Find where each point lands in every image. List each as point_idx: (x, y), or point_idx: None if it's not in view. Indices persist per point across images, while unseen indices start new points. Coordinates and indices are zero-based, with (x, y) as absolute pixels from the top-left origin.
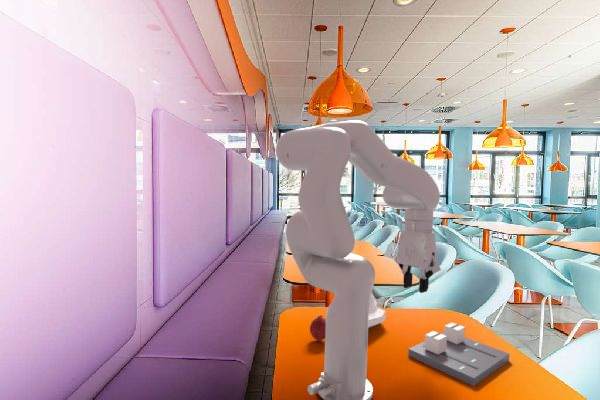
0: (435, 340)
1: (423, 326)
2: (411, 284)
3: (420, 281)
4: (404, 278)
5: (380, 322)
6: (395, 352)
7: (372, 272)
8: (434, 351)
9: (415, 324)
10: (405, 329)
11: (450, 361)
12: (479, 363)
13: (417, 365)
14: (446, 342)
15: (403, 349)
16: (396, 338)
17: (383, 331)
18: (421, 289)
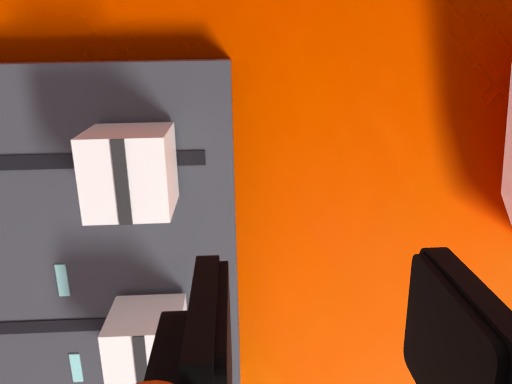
0: (94, 136)
1: (367, 374)
2: (412, 364)
3: (202, 333)
4: (500, 309)
5: (503, 167)
6: (291, 33)
7: None
8: (113, 124)
9: (404, 363)
10: (405, 283)
11: (26, 121)
12: None
13: (144, 12)
14: (164, 279)
15: (285, 96)
16: (378, 166)
17: (468, 176)
18: (193, 278)
